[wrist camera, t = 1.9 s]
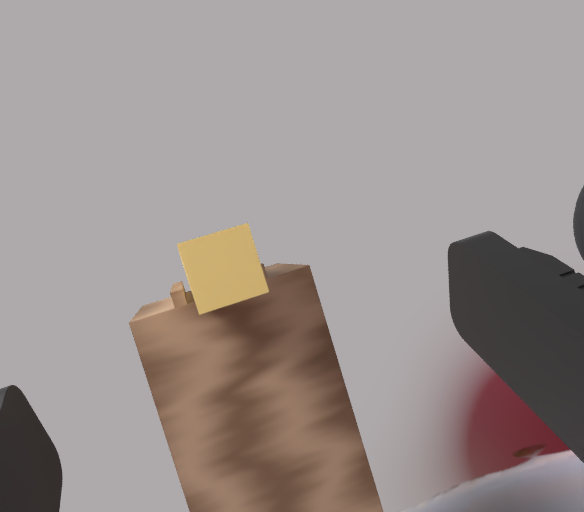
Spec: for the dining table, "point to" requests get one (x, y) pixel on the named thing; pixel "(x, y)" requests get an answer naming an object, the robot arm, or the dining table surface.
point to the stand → (255, 401)
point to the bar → (223, 268)
